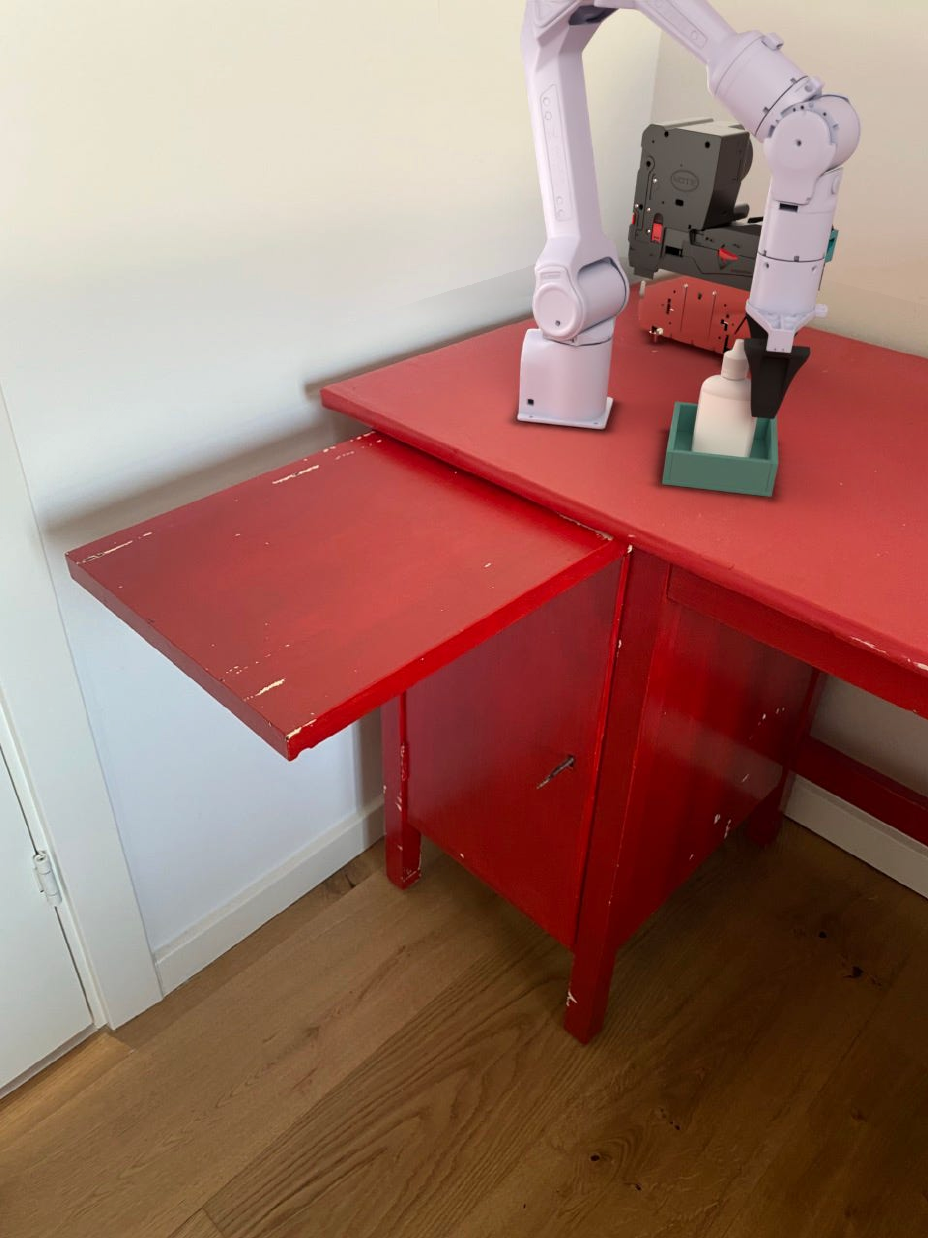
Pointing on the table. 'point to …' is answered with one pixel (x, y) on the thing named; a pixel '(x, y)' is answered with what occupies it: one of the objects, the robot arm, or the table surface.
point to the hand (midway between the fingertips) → (762, 400)
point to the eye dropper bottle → (726, 409)
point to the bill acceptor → (695, 232)
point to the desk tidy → (720, 458)
